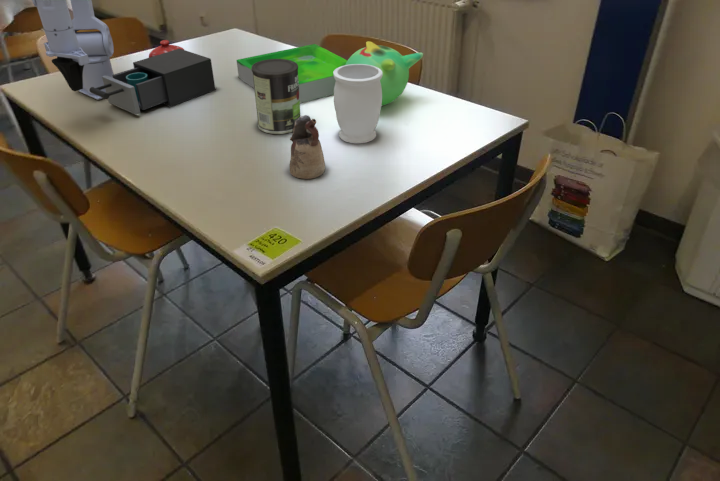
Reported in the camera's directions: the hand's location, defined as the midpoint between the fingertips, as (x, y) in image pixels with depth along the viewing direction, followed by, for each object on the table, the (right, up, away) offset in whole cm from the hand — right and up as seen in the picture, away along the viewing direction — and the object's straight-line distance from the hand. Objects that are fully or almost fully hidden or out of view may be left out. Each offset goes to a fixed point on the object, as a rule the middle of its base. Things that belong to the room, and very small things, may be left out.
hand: (77, 89), depth 128 cm
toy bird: (+68, +1, +17) cm, 70 cm away
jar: (+63, -10, +1) cm, 64 cm away
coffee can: (+45, -7, +6) cm, 46 cm away
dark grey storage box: (+16, +5, +22) cm, 27 cm away
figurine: (+53, -20, -12) cm, 58 cm away
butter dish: (+10, +14, +34) cm, 39 cm away
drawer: (+8, 0, +13) cm, 16 cm away
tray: (+47, +9, +28) cm, 56 cm away
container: (+9, +2, +14) cm, 17 cm away
